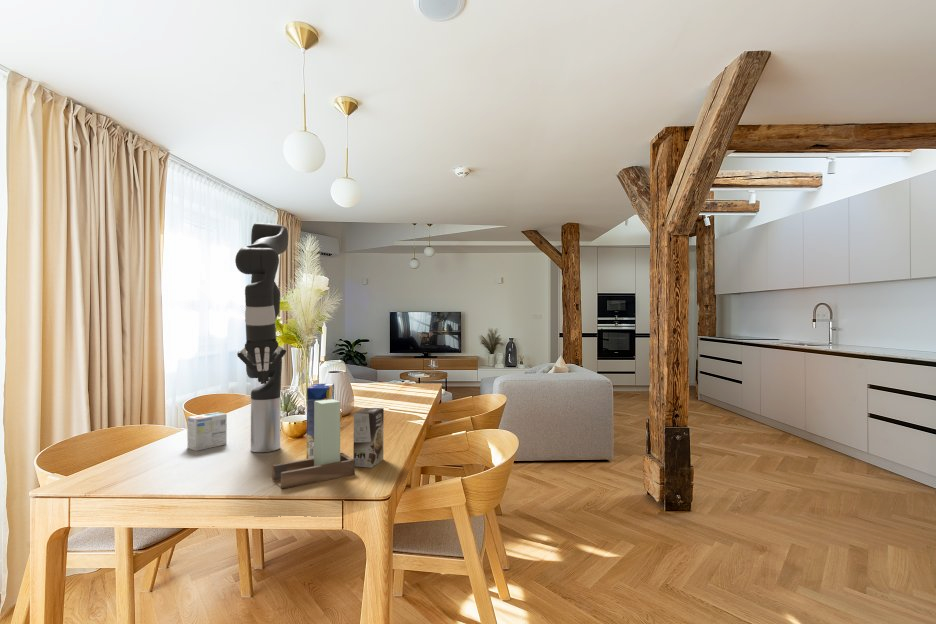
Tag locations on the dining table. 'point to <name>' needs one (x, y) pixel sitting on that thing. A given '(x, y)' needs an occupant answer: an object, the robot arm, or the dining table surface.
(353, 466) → the chute
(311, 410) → the beverage box
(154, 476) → the dining table surface
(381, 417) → the coffee box
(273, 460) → the dining table surface
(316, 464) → the block
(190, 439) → the light bulb box
